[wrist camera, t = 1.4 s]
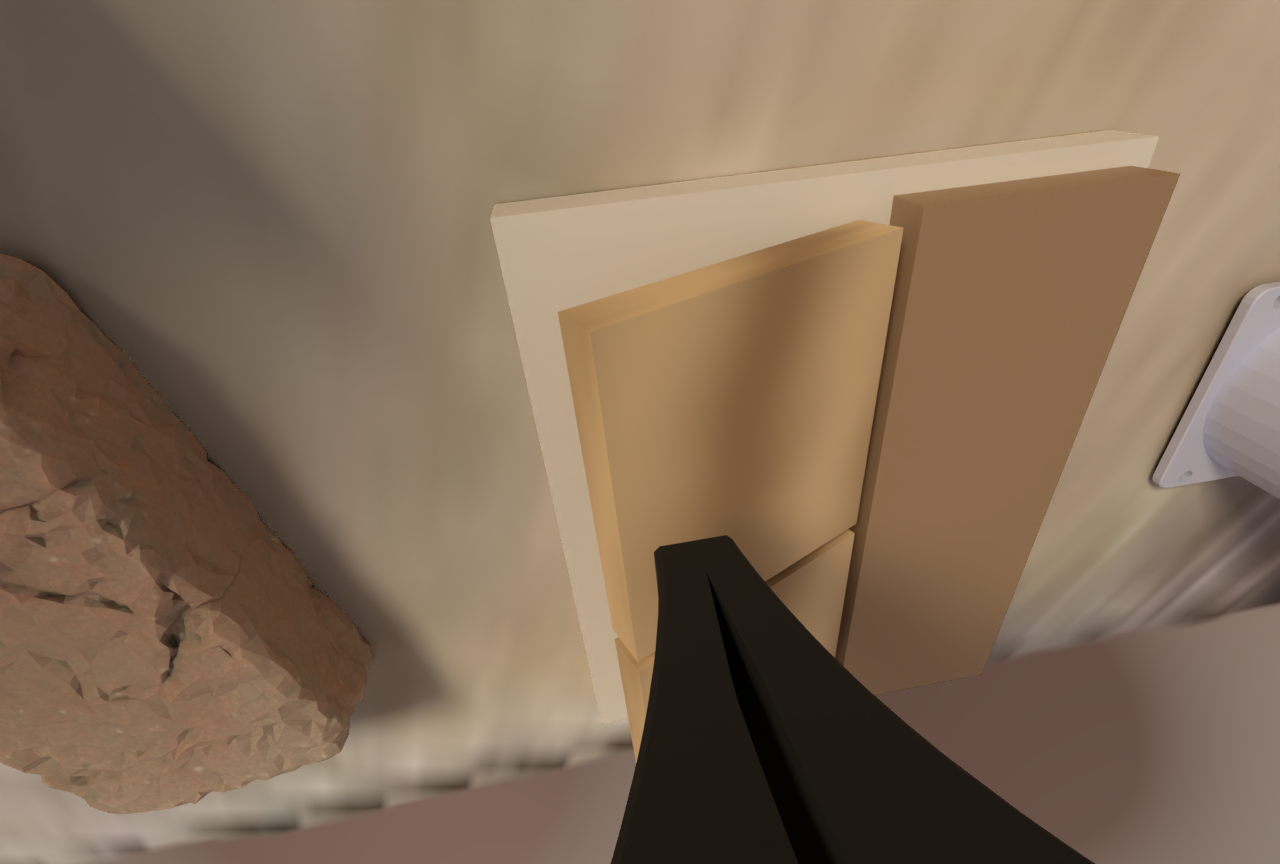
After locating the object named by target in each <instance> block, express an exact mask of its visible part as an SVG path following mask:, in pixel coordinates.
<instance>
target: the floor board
mask: <svg viewBox="0 0 1280 864" xmlns="http://www.w3.org/2000/svg"><path fill="white" fill-rule="evenodd" d="M1159 137H1160V136H1155V135H1146V134H1137V133H1128V132H1120V131H1111V130H1106V131H1098V132H1089V133H1081V134H1073V135H1065V136H1056V137H1048V138H1040V139H1031V140H1023V141H1015V142H1007V143H998V144H990V145H982V146H973V147H965V148H957V149H949V150H940V151H932V152H924V153H915V154H907V155H899V156H891V157H882V158H874V159H866V160H857V161H849V162H841V163H833V164H824V165H816V166H808V167H799V168H791V169H783V170H775V171H766V172H758V173H750V174H741V175H733V176H725V177H717V178H708V179H700V180H692V181H683V182H675V183H667V184H659V185H650V186H642V187H634V188H625V189H617V190H609V191H601V192H592V193H584V194H576V195H567V196H559V197H551V198H543V199H534V200H526V201H518V202H509V203H501V204H495V205H494V208H493V211H492V214H491V216H490V220H491V225H492V229H493V234H494V238H495V243H496V247H497V252H498V256H499V261H500V265H501V270H502V275H503V279H504V284H505V288H506V293H507V297H508V302H509V306H510V311H511V315H512V320H513V324H514V329H515V333H516V338H517V342H518V347H519V351H520V356H521V360H522V365H523V369H524V374H525V378H526V383H527V388H528V392H529V397H530V401H531V406H532V410H533V415H534V419H535V424H536V428H537V433H538V437H539V442H540V446H541V451H542V455H543V460H544V464H545V469H546V473H547V478H548V482H549V487H550V492H551V496H552V501H553V505H554V510H555V514H556V519H557V523H558V528H559V532H560V537H561V541H562V546H563V550H564V555H565V559H566V564H567V568H568V573H569V577H570V582H571V586H572V591H573V595H574V600H575V605H576V609H577V614H578V618H579V623H580V627H581V632H582V636H583V641H584V645H585V650H586V654H587V659H588V663H589V668H590V672H591V677H592V681H593V686H594V690H595V695H596V699H597V704H598V709H599V713H600V718H601V722H602V724H603V723H608V722H613V721H619V720H624V719H628V713H627V708H626V702H625V696H624V690H623V685H622V679H621V673H620V668H619V662H618V656H617V650H616V645H615V639H616V638H618V636H617V634H616V633H615V632H614V631H613V627H612V622H611V616H610V610H609V604H608V599H607V593H606V587H605V581H604V576H603V570H602V564H601V558H600V553H599V547H598V541H597V535H596V530H595V524H594V518H593V513H592V507H591V501H590V495H589V490H588V484H587V478H586V472H585V467H584V461H583V455H582V449H581V444H580V438H579V432H578V426H577V421H576V415H575V409H574V403H573V398H572V392H571V386H570V380H569V375H568V369H567V363H566V357H565V352H564V346H563V340H562V335H561V329H560V323H559V317H558V312H559V311H562V310H565V309H568V308H572V307H575V306H578V305H582V304H585V303H588V302H591V301H595V300H598V299H601V298H604V297H608V296H611V295H614V294H617V293H621V292H624V291H627V290H631V289H634V288H637V287H640V286H644V285H647V284H650V283H653V282H657V281H660V280H663V279H667V278H670V277H673V276H676V275H680V274H683V273H686V272H689V271H693V270H696V269H699V268H703V267H706V266H709V265H712V264H716V263H719V262H722V261H725V260H729V259H732V258H735V257H739V256H742V255H745V254H748V253H752V252H755V251H758V250H761V249H765V248H768V247H771V246H775V245H778V244H781V243H784V242H788V241H791V240H794V239H797V238H801V237H804V236H807V235H811V234H814V233H817V232H820V231H824V230H827V229H830V228H833V227H837V226H840V225H843V224H847V223H850V222H853V221H856V220H864V221H869V222H875V223H880V224H886V225H891V226H897V227H902V228H904V229H903V235H902V242H901V248H900V254H899V260H898V267H897V273H896V279H895V285H894V292H893V298H892V304H891V310H890V317H889V323H888V329H887V335H886V342H885V348H884V354H883V360H882V367H881V373H880V379H879V385H878V392H877V398H876V404H875V410H874V417H873V423H872V429H871V435H870V442H869V448H868V454H867V460H866V467H865V473H864V479H863V485H862V492H861V498H860V504H859V510H858V517H857V523H856V524H855V525H854V526H852V527H850V528H849V530H850V531H852V532H853V533H855V535H854V542H853V548H852V554H851V560H850V567H849V573H848V579H847V585H846V592H845V598H844V604H843V610H842V617H841V623H840V629H839V635H838V642H837V648H836V654H835V658H836V659H837V660H838V661H839V662H840V663H841V664H842V665H843V666H844V667H845V668H846V669H847V670H848V671H849V672H850V673H851V674H852V675H853V676H854V677H855V678H856V679H857V680H858V681H859V682H860V683H861V684H862V685H864V686H865V687H866V688H867V689H868V690H869V691H870V692H871V693H872V694H873V695H878V694H883V693H888V692H893V691H899V690H904V689H909V688H914V687H919V686H925V685H929V684H935V683H940V682H945V681H950V680H956V679H961V678H966V677H971V676H977V675H981V674H982V673H983V670H984V668H985V665H986V663H987V660H988V658H989V655H990V653H991V650H992V648H993V645H994V642H995V640H996V637H997V635H998V632H999V630H1000V627H1001V625H1002V622H1003V620H1004V617H1005V615H1006V612H1007V610H1008V607H1009V605H1010V602H1011V600H1012V597H1013V595H1014V592H1015V590H1016V587H1017V584H1018V582H1019V579H1020V577H1021V574H1022V572H1023V569H1024V567H1025V564H1026V562H1027V559H1028V557H1029V554H1030V552H1031V549H1032V547H1033V544H1034V542H1035V539H1036V537H1037V534H1038V531H1039V529H1040V526H1041V524H1042V521H1043V519H1044V516H1045V514H1046V511H1047V509H1048V506H1049V504H1050V501H1051V499H1052V496H1053V494H1054V491H1055V489H1056V486H1057V484H1058V481H1059V479H1060V476H1061V473H1062V471H1063V468H1064V466H1065V463H1066V461H1067V458H1068V456H1069V453H1070V451H1071V448H1072V446H1073V443H1074V441H1075V438H1076V436H1077V433H1078V431H1079V428H1080V426H1081V423H1082V420H1083V418H1084V415H1085V413H1086V410H1087V408H1088V405H1089V403H1090V400H1091V398H1092V395H1093V393H1094V390H1095V388H1096V385H1097V383H1098V380H1099V378H1100V375H1101V373H1102V370H1103V368H1104V365H1105V362H1106V360H1107V357H1108V355H1109V352H1110V350H1111V347H1112V345H1113V342H1114V340H1115V337H1116V335H1117V332H1118V330H1119V327H1120V325H1121V322H1122V320H1123V317H1124V315H1125V312H1126V310H1127V307H1128V304H1129V302H1130V299H1131V297H1132V294H1133V292H1134V289H1135V287H1136V284H1137V282H1138V279H1139V277H1140V274H1141V272H1142V269H1143V267H1144V264H1145V262H1146V259H1147V257H1148V254H1149V251H1150V249H1151V246H1152V244H1153V241H1154V239H1155V236H1156V234H1157V231H1158V229H1159V226H1160V224H1161V221H1162V219H1163V216H1164V214H1165V211H1166V209H1167V206H1168V204H1169V201H1170V199H1171V196H1172V193H1173V191H1174V188H1175V186H1176V183H1177V181H1178V178H1179V176H1180V174H1178V173H1172V172H1166V171H1160V170H1154V169H1148V167H1149V164H1150V161H1151V159H1152V156H1153V153H1154V150H1155V148H1156V145H1157V142H1158V139H1159Z"/></svg>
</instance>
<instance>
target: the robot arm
mask: <svg viewBox="0 0 1280 864" xmlns="http://www.w3.org/2000/svg"><path fill="white" fill-rule="evenodd" d="M1235 476H1240V477H1242V478H1244V479H1246V480H1247V481H1249V482H1251V483H1252V484H1254V485H1256V486H1258V487H1259V488H1261V489H1263V490H1264V491H1266V492H1268V493H1269V494H1271V495H1273V496H1275V497H1276V498H1278V499H1280V282H1275V283H1268V284H1263V285H1259V286H1257V287H1255V288H1253V289H1252V290H1250V291H1249V292H1248V293H1247V294H1246V295H1245V296H1244V298H1243V299H1242V301H1241V302H1240V304H1239V306H1238V308H1237V310H1236V312H1235V314H1234V316H1233V318H1232V320H1231V322H1230V324H1229V326H1228V328H1227V330H1226V332H1225V334H1224V336H1223V338H1222V340H1221V342H1220V344H1219V346H1218V348H1217V350H1216V352H1215V354H1214V356H1213V358H1212V360H1211V362H1210V364H1209V366H1208V368H1207V370H1206V371H1205V373H1204V375H1203V377H1202V379H1201V381H1200V383H1199V385H1198V387H1197V389H1196V391H1195V393H1194V395H1193V397H1192V399H1191V401H1190V403H1189V405H1188V407H1187V409H1186V411H1185V413H1184V415H1183V417H1182V419H1181V421H1180V423H1179V425H1178V427H1177V429H1176V431H1175V433H1174V435H1173V437H1172V439H1171V441H1170V442H1169V444H1168V446H1167V448H1166V450H1165V452H1164V454H1163V456H1162V458H1161V460H1160V462H1159V464H1158V466H1157V468H1156V470H1155V472H1154V474H1153V477H1152V480H1153V482H1154V483H1155V484H1157V485H1158V486H1160V487H1162V488H1171V487H1177V486H1183V485H1189V484H1195V483H1200V482H1206V481H1212V480H1218V479H1224V478H1230V477H1235ZM654 559H655V569H656V579H657V589H658V623H657V635H656V648H655V658H654V666H653V673H652V679H651V686H650V693H649V700H648V707H647V712H646V718H645V723H644V729H643V734H642V739H641V744H640V749H639V753H638V758H637V763H636V767H635V772H634V776H633V781H632V785H631V789H630V793H629V797H628V801H627V805H626V809H625V813H624V817H623V821H622V825H621V829H620V832H619V837H618V840H617V844H616V847H615V851H614V854H613V858H612V861H611V864H1095V863H1093V862H1092V861H1090V860H1089V859H1087V858H1086V857H1084V856H1083V855H1081V854H1080V853H1078V852H1077V851H1075V850H1074V849H1072V848H1071V847H1069V846H1068V845H1067V844H1065V843H1064V842H1062V841H1061V840H1059V839H1058V838H1057V837H1055V836H1054V835H1052V834H1051V833H1049V832H1048V831H1047V830H1045V829H1043V828H1042V827H1041V826H1039V825H1038V824H1036V823H1035V822H1034V821H1032V820H1031V819H1029V818H1028V817H1026V816H1025V815H1024V814H1022V813H1021V812H1019V811H1018V810H1017V809H1015V808H1014V807H1013V806H1011V805H1010V804H1009V803H1008V802H1006V801H1005V800H1004V799H1002V798H1001V797H1000V796H998V795H997V794H996V793H994V792H993V791H992V790H990V789H989V788H988V787H986V786H985V785H984V784H982V783H981V782H980V781H978V780H977V779H975V778H974V777H973V776H972V775H970V774H969V773H968V772H966V771H965V770H963V769H962V768H961V767H960V766H958V765H957V764H956V763H954V762H953V761H952V760H950V759H949V758H948V757H947V756H945V755H944V754H943V753H941V752H940V751H939V750H938V749H937V748H935V747H934V746H933V745H931V744H930V743H929V742H928V741H927V740H926V739H924V738H923V737H922V736H921V735H920V734H918V733H917V732H916V731H915V730H914V729H912V728H911V727H910V726H909V725H907V724H906V723H905V722H904V721H903V720H902V719H901V718H899V717H898V716H897V715H896V714H895V713H894V712H893V711H891V710H890V709H889V708H888V707H887V706H886V705H884V704H883V703H882V702H881V701H880V700H879V699H878V698H877V697H876V696H874V695H873V694H872V693H871V692H870V691H869V690H868V689H867V688H866V687H865V686H864V685H862V684H861V683H860V682H859V681H858V680H857V679H856V678H855V677H854V676H853V675H852V674H851V673H850V672H849V671H848V670H847V669H846V668H845V667H844V666H843V665H842V664H841V663H840V662H839V661H838V660H837V659H836V658H835V657H834V656H833V655H831V654H830V653H829V652H828V651H827V650H826V649H825V647H824V646H823V645H822V644H821V643H820V642H819V641H818V640H817V639H816V638H815V637H814V636H813V635H812V634H811V633H810V632H809V631H808V630H807V629H806V628H805V626H804V625H803V624H802V623H801V622H800V621H799V620H798V619H797V618H796V617H795V615H794V614H793V613H792V612H791V611H790V610H789V609H788V608H787V607H786V606H785V605H784V603H783V602H782V601H781V600H780V599H779V598H778V596H777V595H776V594H775V593H774V592H773V591H772V589H771V588H770V587H769V586H768V585H767V583H766V582H765V581H764V580H763V579H762V577H761V576H760V575H759V574H758V572H757V571H756V570H755V569H754V567H753V566H752V565H751V564H750V562H749V561H748V560H747V558H746V557H745V556H744V554H743V553H742V552H741V550H740V549H739V548H738V546H737V545H736V544H735V542H734V541H733V539H732V538H730V537H729V536H727V535H724V536H718V537H712V538H706V539H700V540H694V541H688V542H682V543H677V544H671V545H665V546H659V547H658V548H657V549H656V550H655V551H654Z"/></svg>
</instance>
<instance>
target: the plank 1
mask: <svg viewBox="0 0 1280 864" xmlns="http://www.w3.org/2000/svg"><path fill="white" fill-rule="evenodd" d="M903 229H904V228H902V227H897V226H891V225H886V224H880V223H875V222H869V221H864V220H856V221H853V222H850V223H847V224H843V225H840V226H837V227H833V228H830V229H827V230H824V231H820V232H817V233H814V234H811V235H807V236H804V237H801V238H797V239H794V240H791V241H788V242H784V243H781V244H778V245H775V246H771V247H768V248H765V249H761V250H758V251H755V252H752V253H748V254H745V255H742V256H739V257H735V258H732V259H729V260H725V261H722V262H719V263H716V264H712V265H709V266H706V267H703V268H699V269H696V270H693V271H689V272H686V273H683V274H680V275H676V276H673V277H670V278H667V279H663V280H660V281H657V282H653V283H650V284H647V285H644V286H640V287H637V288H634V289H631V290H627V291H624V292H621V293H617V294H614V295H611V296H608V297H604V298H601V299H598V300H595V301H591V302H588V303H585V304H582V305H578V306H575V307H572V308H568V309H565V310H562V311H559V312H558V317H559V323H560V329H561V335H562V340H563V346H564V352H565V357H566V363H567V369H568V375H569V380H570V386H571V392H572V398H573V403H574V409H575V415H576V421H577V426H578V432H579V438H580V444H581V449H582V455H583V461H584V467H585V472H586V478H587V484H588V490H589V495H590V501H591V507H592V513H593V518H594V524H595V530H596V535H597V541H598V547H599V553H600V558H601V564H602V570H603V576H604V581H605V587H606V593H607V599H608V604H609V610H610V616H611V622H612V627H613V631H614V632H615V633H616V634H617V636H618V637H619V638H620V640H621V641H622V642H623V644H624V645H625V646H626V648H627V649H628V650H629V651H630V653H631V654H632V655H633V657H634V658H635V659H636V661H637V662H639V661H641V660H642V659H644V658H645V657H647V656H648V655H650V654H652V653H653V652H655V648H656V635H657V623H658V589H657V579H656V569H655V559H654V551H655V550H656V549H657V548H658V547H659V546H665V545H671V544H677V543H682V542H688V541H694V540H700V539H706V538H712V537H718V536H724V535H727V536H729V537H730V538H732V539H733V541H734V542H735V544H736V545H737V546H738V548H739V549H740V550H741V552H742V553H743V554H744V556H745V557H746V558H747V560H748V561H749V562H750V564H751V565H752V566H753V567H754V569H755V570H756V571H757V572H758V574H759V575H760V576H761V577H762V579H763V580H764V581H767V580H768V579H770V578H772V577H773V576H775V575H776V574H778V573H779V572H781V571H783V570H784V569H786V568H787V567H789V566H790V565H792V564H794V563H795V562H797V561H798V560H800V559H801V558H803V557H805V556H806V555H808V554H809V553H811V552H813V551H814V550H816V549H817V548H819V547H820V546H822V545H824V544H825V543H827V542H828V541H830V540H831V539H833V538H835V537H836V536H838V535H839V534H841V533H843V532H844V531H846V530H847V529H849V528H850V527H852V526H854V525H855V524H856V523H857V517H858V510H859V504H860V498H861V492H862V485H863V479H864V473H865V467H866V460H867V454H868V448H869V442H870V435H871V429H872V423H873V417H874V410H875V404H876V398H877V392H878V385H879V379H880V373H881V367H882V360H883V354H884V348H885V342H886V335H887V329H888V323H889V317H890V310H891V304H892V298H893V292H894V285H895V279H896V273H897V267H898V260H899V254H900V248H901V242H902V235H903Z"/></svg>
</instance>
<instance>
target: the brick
mask: <svg viewBox="0 0 1280 864" xmlns="http://www.w3.org/2000/svg"><path fill="white" fill-rule="evenodd" d="M312 584H313V583H312V581H311V580H310V579H309V578H308V576H307V574H306V572H305V571H304V569H303V567H302V566H301V564H300V562H299V561H298V559H297V558H296V557H295V555H294V554H293V552H292V551H291V550H289V549H287V548H286V547H284V546H283V544H282V542H281V540H280V539H279V538H278V537H276V536H275V535H274V534H273V533H272V532H271V531H270V530H268V529H267V528H266V526H265V524H264V523H263V522H262V520H261V519H260V517H259V515H258V513H257V510H256V509H255V507H254V506H253V505H252V504H251V503H250V501H249V500H248V499H247V498H246V497H245V496H244V495H243V494H242V493H241V492H240V491H239V490H238V489H237V488H236V486H235V485H234V484H233V483H232V481H231V480H230V479H229V478H228V476H227V475H226V474H225V473H224V471H223V470H221V469H219V468H218V467H216V466H215V465H213V464H212V463H210V462H208V461H207V453H206V450H205V448H204V447H203V446H202V445H201V444H200V443H199V441H198V440H197V439H196V438H195V437H194V435H193V434H192V433H191V432H190V431H189V429H188V428H187V427H186V426H185V425H184V424H183V423H182V422H181V421H180V420H179V419H178V418H177V417H176V416H175V415H174V414H173V412H172V411H171V410H170V408H169V407H168V406H167V404H166V403H165V402H164V400H163V399H162V398H161V397H160V395H159V394H158V393H157V392H156V391H155V390H154V389H153V388H152V387H151V386H150V384H149V383H148V382H147V381H146V380H145V379H144V377H143V376H142V375H141V374H140V372H139V371H138V370H137V369H136V367H135V366H134V365H133V364H132V363H131V361H130V360H129V359H128V358H127V357H126V355H125V354H124V353H123V352H122V351H121V350H120V349H119V348H118V347H117V346H116V345H114V344H113V343H112V342H111V341H110V340H108V339H107V338H106V337H105V335H104V334H103V333H102V332H101V331H100V329H99V328H98V327H97V326H96V325H95V323H93V322H92V321H91V320H90V319H89V318H88V317H86V316H85V315H84V314H83V313H82V312H81V311H80V310H79V309H78V307H77V306H76V305H75V303H74V302H73V301H72V299H71V298H70V297H69V295H68V294H67V293H66V292H65V291H64V290H63V289H62V288H61V287H60V286H58V285H57V284H56V283H55V282H54V281H53V280H52V279H51V278H50V277H49V276H48V275H47V274H46V273H44V272H43V271H42V270H40V269H38V268H36V267H35V266H33V265H31V264H29V263H27V262H25V261H23V260H21V259H19V258H16V257H12V256H9V255H5V254H2V253H0V762H1V763H3V764H5V765H8V766H10V767H13V768H15V769H17V770H20V771H22V772H25V773H32V774H39V775H41V778H42V782H43V783H44V784H46V785H47V786H49V787H50V788H54V789H59V790H63V791H67V792H71V793H74V794H76V795H78V796H80V797H81V798H83V799H85V801H86V802H87V803H88V804H89V805H90V807H93V808H96V809H99V810H102V811H104V812H107V813H115V814H128V813H137V812H146V811H152V810H160V809H168V808H173V807H176V806H180V805H183V804H186V803H194V804H196V803H197V802H198V801H199V800H201V799H202V798H203V797H204V796H206V795H207V794H208V793H210V792H212V791H216V792H226V791H229V790H233V789H238V788H242V787H243V786H245V785H247V784H248V783H250V782H251V781H253V780H256V779H258V780H268V779H270V778H272V777H275V776H277V775H280V774H282V773H286V772H290V771H294V770H296V769H297V768H299V767H301V766H303V765H306V764H312V763H316V762H320V761H323V760H327V759H329V758H330V757H332V756H334V755H336V754H337V753H339V752H341V750H342V748H343V746H344V744H345V742H346V739H347V737H348V735H349V728H350V720H349V716H350V715H351V714H352V713H353V711H354V706H355V705H356V704H358V703H359V702H360V701H362V700H363V699H364V695H365V687H366V676H367V671H368V669H369V667H370V665H371V662H372V657H373V653H372V652H371V650H370V645H369V644H368V643H367V642H366V641H365V640H364V639H363V638H362V637H361V635H360V634H359V633H358V629H357V627H356V626H355V624H354V623H353V622H352V621H351V620H350V619H349V618H348V617H347V616H346V615H345V614H344V613H343V612H342V610H341V609H340V608H339V607H338V606H337V605H336V604H335V603H334V602H333V601H332V600H331V599H330V598H329V597H328V596H326V595H324V594H322V593H321V592H320V591H318V590H317V589H314V588H312V587H311V586H312Z"/></svg>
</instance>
